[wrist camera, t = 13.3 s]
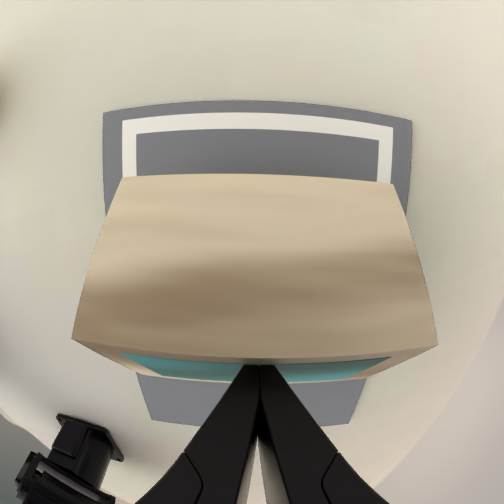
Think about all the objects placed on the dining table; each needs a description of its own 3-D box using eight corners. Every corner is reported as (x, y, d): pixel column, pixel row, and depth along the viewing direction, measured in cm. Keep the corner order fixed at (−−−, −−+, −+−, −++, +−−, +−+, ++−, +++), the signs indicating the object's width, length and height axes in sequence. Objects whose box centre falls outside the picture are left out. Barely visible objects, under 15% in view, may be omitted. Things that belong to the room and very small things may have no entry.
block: (438, 345, 6) (392, 183, 10) (71, 339, 6) (122, 177, 9) (363, 378, 11) (349, 264, 15) (142, 374, 11) (159, 260, 15)
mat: (347, 419, 20) (348, 423, 19) (152, 416, 20) (151, 419, 19) (408, 121, 12) (412, 120, 12) (106, 113, 12) (103, 112, 12)
